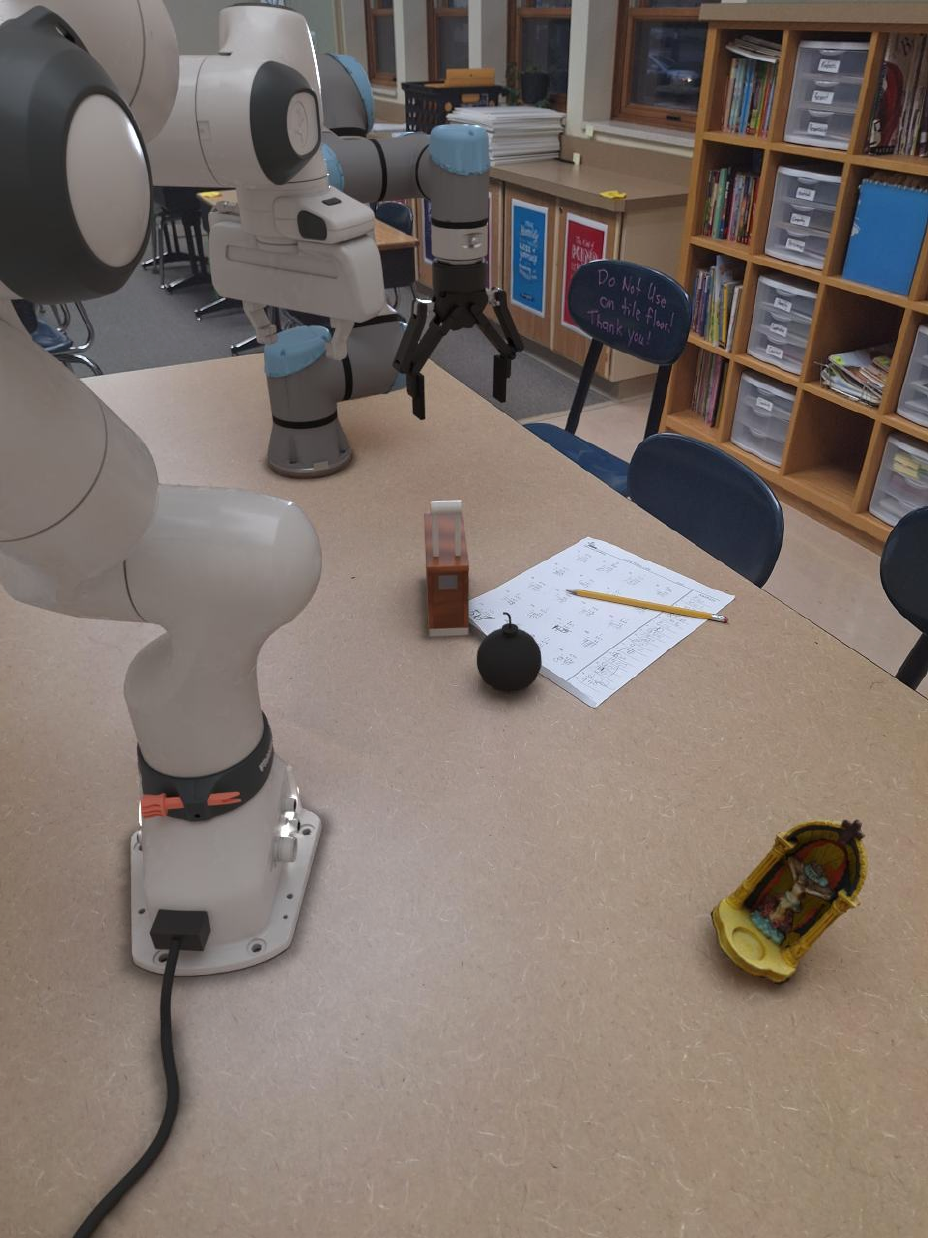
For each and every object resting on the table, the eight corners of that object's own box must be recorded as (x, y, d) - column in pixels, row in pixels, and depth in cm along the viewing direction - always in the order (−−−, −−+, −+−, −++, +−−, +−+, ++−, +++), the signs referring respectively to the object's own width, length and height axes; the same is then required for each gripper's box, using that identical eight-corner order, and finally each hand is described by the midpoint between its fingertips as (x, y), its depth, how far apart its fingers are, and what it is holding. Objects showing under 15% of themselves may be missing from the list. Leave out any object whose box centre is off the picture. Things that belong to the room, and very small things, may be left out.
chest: (468, 635, 115) (468, 568, 109) (428, 636, 115) (426, 570, 109) (462, 580, 126) (462, 518, 120) (426, 582, 126) (424, 519, 120)
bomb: (495, 658, 111) (497, 579, 104) (551, 678, 107) (556, 598, 100) (464, 692, 105) (464, 612, 98) (521, 714, 102) (525, 633, 95)
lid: (468, 571, 109) (468, 510, 104) (427, 572, 108) (424, 512, 103) (462, 517, 120) (462, 461, 115) (424, 519, 120) (422, 462, 115)
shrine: (791, 892, 81) (830, 781, 73) (851, 966, 75) (901, 853, 66) (686, 929, 78) (714, 817, 69) (739, 1009, 72) (776, 896, 63)
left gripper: (183, 203, 86) (208, 342, 94) (348, 225, 77) (360, 376, 85) (228, 193, 90) (248, 326, 98) (389, 213, 81) (396, 357, 90)
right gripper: (386, 275, 108) (394, 433, 121) (552, 252, 118) (543, 401, 130) (363, 262, 114) (372, 414, 126) (523, 241, 123) (518, 385, 136)
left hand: (301, 350), depth 92 cm, fingers open, 8 cm apart
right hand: (459, 408), depth 128 cm, fingers open, 13 cm apart
